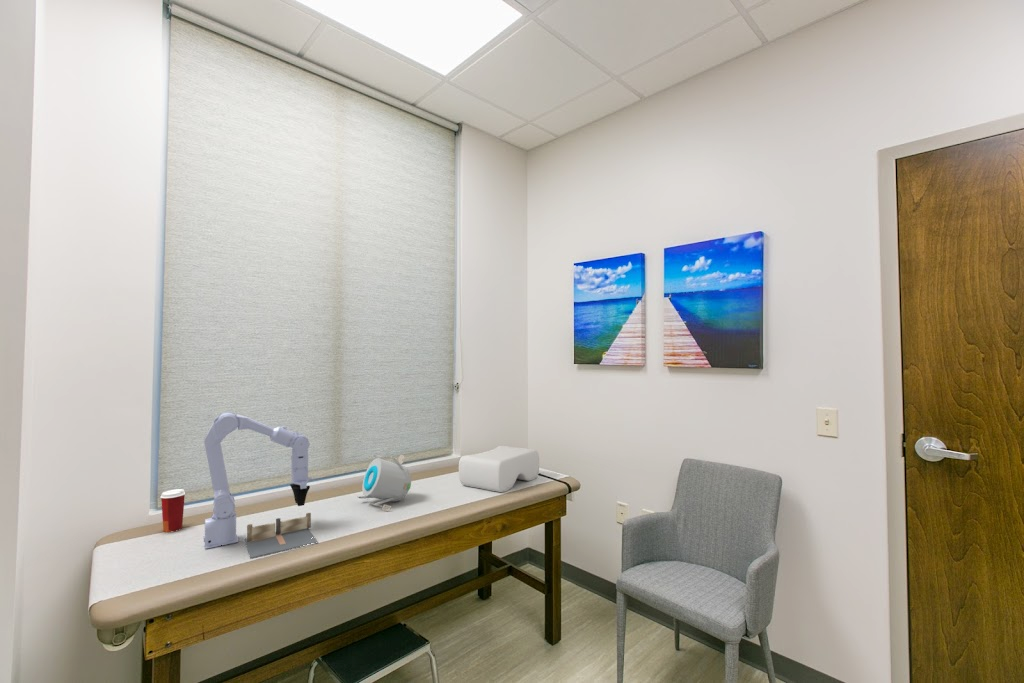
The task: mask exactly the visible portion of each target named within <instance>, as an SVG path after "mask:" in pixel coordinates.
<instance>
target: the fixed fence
mask: <svg viewBox="0 0 1024 683" xmlns="http://www.w3.org/2000/svg"><path fill="white" fill-rule="evenodd" d="M275 532H276V522H271V523H266V524H261V525H257V526H255V525H254V526H253V523H252V524H251V523H250V524H247V525H246V538H247V542H250V541H253V540H258V539H263V538H267V537H272V536H275Z"/></svg>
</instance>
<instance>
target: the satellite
mask: <svg viewBox="0 0 1024 683" xmlns="http://www.w3.org/2000/svg"><path fill="white" fill-rule="evenodd" d="M368 454H370V455H372V456H374V457H375V458H374V459H373V460H372V461H371V462H370V463H369V465H368V467H367V469H366V471H365V474H364V476H363V480H362V484H361V485H362V486H361V487H362V488H361V489H362V490H361V491H362V494H363V495H361V496H358V499H366V500H367V499H376V500H377V499H378V500H381V501H378V502H375V503H373V502H372V503H370V504H371V505H373V506H374V507H376V506H378V507H381V508H382V509H381V510H382V511H387V512H390V511H391V508H392V505H388V504H384V503H388V502H390V503H395V502H399V501H401V500H403V499H404V498H405V496H406V495H407V494H408V493H409V490H410V489H411V486H412V475H411V472H410V470H409V468H408V467H406V466H404V465H403V463H404V462H405V455H404V454H400V455H399V457H395V456H394V455H393V456H390V455H389V458H391V459H392V461H393V462H392V461H390V460H385V459H386V457H385V456H382V455H378V454H376V453H373V452H368ZM382 504H383V506H382Z"/></svg>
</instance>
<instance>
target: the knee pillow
mask: <svg viewBox="0 0 1024 683" xmlns="http://www.w3.org/2000/svg"><path fill="white" fill-rule="evenodd" d="M539 471H540V455H539V452H538V450H537V449H533V448H524V447H523V448H522V447H515V446H506V445H498V446H497V447H495V448H493V449H491V450H486V451H483V452H479V453H473V454H467V455H462V456H461V457H460V459H459V462H458V477H459V478H458V479H459V482H460V484H461V485H463V486H465V487H470V488H477V489H482V490H486V491H491V492H497V493H505V492H508V491H509V490H510V489H512V488H513V487H514V485H515V483H516V481H517V480H518V481H519V480H521V481H525V482H526V481H528V482H529V481H530V482H531V481H533V480H536V478H538V475H539V473H540V472H539Z"/></svg>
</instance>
